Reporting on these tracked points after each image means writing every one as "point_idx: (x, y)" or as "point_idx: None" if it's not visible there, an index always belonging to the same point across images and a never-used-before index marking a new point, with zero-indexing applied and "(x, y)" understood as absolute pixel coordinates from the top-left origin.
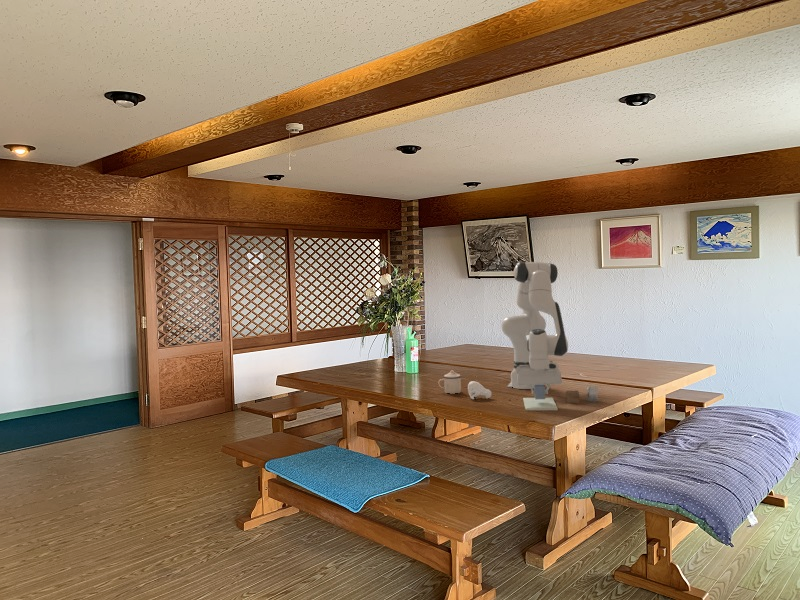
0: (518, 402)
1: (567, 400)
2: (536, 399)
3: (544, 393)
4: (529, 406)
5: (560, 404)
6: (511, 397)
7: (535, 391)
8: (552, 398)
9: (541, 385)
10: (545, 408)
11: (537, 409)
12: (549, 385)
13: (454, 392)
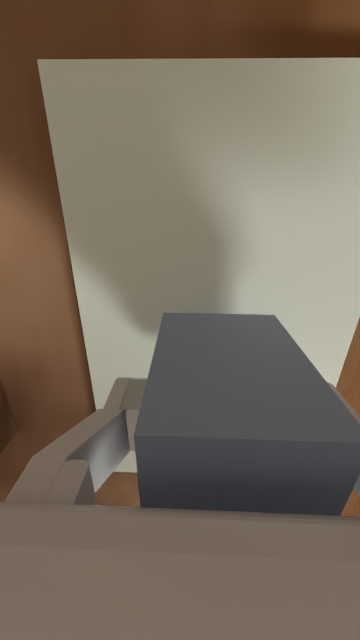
0: (355, 410)
1: (3, 415)
2: None
3: (164, 347)
4: (358, 175)
5: (48, 338)
6: (349, 515)
7: (310, 367)
8: None
9: (199, 508)
10: (186, 62)
11: (284, 66)
12: (31, 480)
13: None
